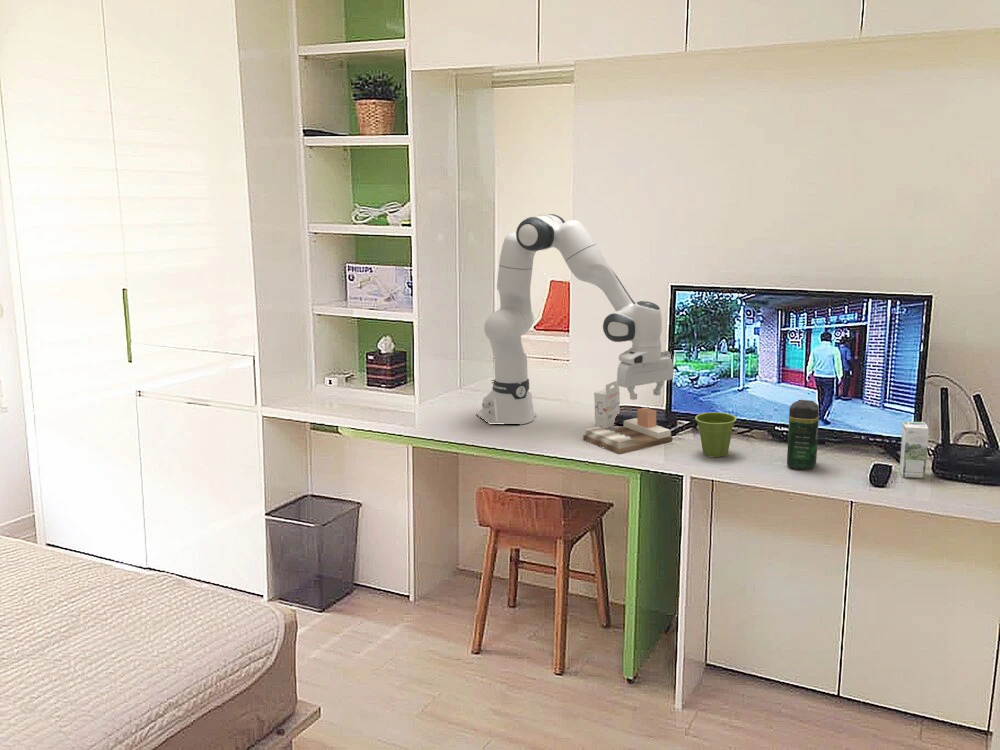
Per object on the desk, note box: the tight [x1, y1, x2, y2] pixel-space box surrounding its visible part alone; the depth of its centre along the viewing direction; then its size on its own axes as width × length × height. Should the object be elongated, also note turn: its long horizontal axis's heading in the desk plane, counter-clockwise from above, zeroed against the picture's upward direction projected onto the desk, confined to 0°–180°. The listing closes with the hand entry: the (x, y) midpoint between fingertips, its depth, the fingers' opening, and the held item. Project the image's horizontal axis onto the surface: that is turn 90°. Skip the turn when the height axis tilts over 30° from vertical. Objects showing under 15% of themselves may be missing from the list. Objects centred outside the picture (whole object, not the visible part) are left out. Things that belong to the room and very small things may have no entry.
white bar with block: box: [623, 407, 672, 439], centre depth 296 cm, size 17×5×7 cm, turn 31°
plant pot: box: [694, 411, 738, 458], centre depth 276 cm, size 12×12×11 cm
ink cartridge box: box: [593, 380, 621, 429], centre depth 310 cm, size 9×5×15 cm, turn 143°
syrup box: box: [899, 421, 930, 479], centre depth 253 cm, size 6×6×14 cm
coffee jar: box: [786, 399, 820, 471], centre depth 263 cm, size 10×8×19 cm
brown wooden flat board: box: [582, 425, 673, 455], centre depth 293 cm, size 18×21×4 cm
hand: (645, 397), depth 295 cm, fingers open, 8 cm apart
